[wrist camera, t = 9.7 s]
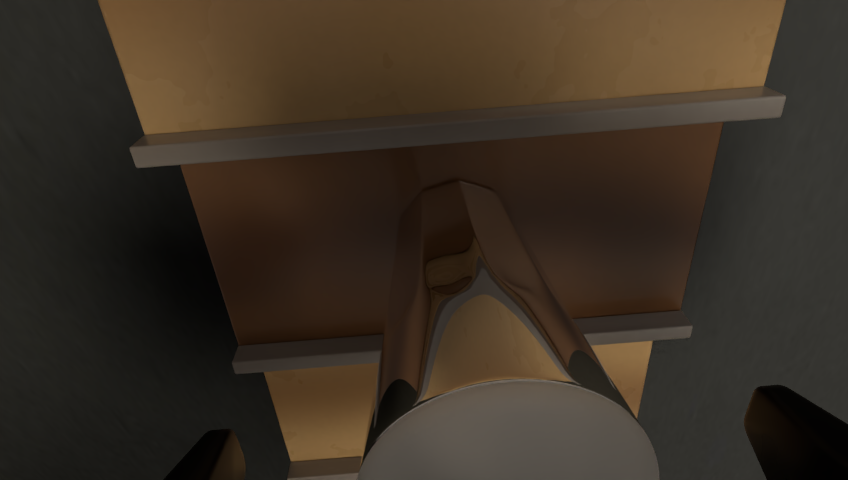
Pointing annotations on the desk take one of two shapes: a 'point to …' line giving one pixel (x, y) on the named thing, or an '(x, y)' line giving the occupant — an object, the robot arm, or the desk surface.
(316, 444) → the rack
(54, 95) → the desk surface
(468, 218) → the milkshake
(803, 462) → the robot arm
